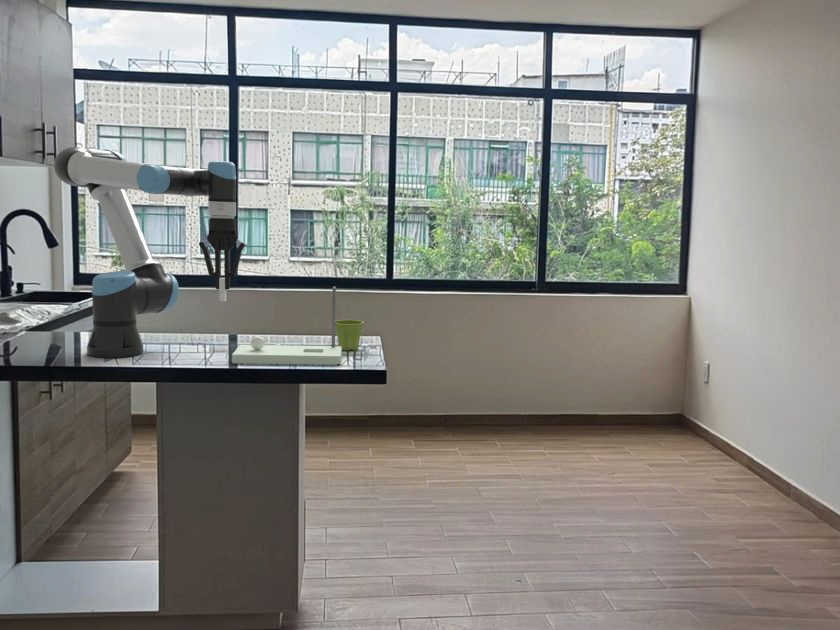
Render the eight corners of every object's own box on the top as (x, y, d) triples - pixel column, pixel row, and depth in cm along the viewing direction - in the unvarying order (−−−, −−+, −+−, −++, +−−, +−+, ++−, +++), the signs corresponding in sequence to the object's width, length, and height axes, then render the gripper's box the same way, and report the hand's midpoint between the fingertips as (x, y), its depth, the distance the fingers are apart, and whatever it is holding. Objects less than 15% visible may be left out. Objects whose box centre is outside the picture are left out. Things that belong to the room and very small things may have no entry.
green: (232, 363, 212) (232, 289, 210) (242, 350, 232) (242, 283, 229) (340, 364, 215) (341, 292, 213) (341, 352, 234) (342, 285, 232)
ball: (249, 350, 218) (249, 337, 218) (251, 348, 222) (251, 334, 222) (263, 351, 219) (263, 337, 218) (265, 348, 223) (265, 335, 222)
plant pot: (355, 352, 235) (356, 324, 234) (328, 350, 238) (328, 322, 237) (368, 348, 244) (368, 321, 243) (341, 345, 247) (341, 319, 246)
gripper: (195, 216, 211) (196, 302, 214) (244, 218, 212) (244, 302, 215) (201, 216, 218) (202, 299, 221) (247, 218, 219) (247, 299, 222)
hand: (222, 300), depth 218 cm, fingers closed
